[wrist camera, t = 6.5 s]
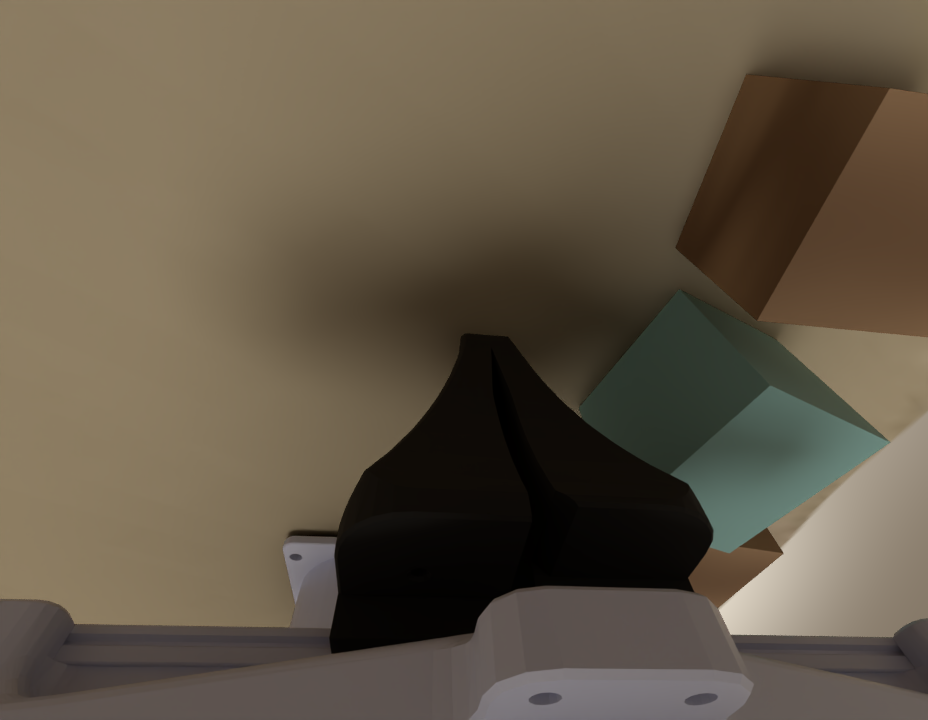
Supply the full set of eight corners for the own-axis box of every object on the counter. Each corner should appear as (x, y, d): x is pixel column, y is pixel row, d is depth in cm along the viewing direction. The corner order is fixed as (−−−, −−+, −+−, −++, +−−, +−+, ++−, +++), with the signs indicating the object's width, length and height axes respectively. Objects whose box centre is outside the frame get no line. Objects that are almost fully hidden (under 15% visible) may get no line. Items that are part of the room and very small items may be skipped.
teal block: (666, 440, 17) (729, 553, 13) (578, 406, 15) (619, 519, 12) (774, 337, 14) (890, 442, 10) (678, 288, 13) (770, 385, 9)
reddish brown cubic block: (666, 517, 19) (710, 613, 16) (581, 504, 19) (610, 602, 15) (719, 456, 17) (783, 553, 14) (626, 438, 16) (670, 536, 13)
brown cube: (809, 261, 13) (936, 338, 9) (674, 246, 12) (756, 320, 9) (906, 98, 10) (1120, 123, 7) (743, 74, 10) (890, 88, 7)
